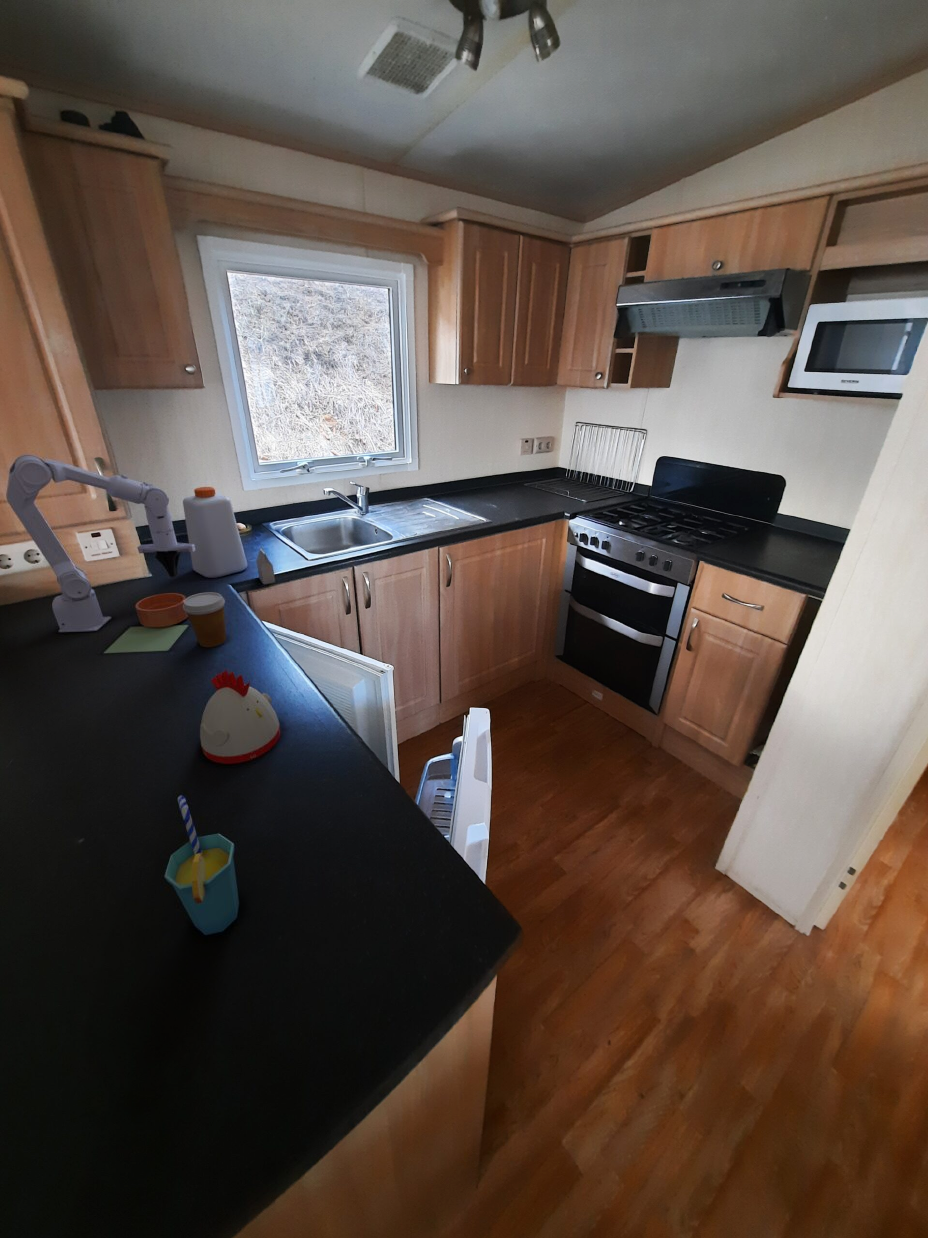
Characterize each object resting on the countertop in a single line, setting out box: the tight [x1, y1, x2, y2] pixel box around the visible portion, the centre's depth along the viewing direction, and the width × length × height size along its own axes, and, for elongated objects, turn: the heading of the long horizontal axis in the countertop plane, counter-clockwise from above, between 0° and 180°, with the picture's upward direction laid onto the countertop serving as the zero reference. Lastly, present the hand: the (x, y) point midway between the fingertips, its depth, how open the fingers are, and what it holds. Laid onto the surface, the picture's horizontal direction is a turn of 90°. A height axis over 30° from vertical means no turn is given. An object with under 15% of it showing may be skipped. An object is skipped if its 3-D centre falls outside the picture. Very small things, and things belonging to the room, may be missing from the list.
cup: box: [163, 795, 240, 936], centre depth 63 cm, size 14×8×15 cm, turn 37°
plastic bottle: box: [182, 486, 248, 579], centre depth 170 cm, size 15×15×28 cm
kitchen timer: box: [199, 669, 282, 765], centre depth 94 cm, size 14×14×15 cm
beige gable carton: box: [255, 548, 276, 585], centre depth 166 cm, size 4×7×10 cm, turn 32°
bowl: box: [135, 592, 189, 628], centre depth 140 cm, size 12×12×6 cm
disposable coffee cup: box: [183, 591, 227, 648], centre depth 128 cm, size 10×10×12 cm
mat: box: [103, 624, 189, 654], centre depth 131 cm, size 15×14×1 cm
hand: (173, 575), depth 147 cm, fingers closed
